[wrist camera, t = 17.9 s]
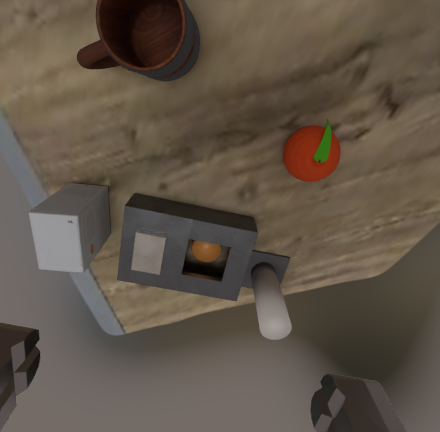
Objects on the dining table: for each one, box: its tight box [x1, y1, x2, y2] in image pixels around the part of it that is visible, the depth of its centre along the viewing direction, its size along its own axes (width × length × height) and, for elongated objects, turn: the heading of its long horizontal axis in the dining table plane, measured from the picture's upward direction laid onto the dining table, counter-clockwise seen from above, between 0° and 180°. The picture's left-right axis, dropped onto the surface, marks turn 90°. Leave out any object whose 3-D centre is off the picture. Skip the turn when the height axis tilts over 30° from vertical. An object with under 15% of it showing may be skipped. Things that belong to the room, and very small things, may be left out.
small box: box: [28, 183, 111, 273], centre depth 39 cm, size 8×6×10 cm
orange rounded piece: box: [192, 240, 221, 262], centre depth 46 cm, size 4×4×2 cm
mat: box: [241, 250, 290, 288], centre depth 48 cm, size 7×7×1 cm
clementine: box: [283, 119, 340, 182], centre depth 37 cm, size 8×7×7 cm
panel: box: [117, 193, 258, 301], centre depth 43 cm, size 18×12×6 cm, turn 77°
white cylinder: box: [251, 262, 292, 340], centre depth 43 cm, size 4×4×12 cm
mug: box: [77, 0, 200, 81], centre depth 30 cm, size 9×12×12 cm
